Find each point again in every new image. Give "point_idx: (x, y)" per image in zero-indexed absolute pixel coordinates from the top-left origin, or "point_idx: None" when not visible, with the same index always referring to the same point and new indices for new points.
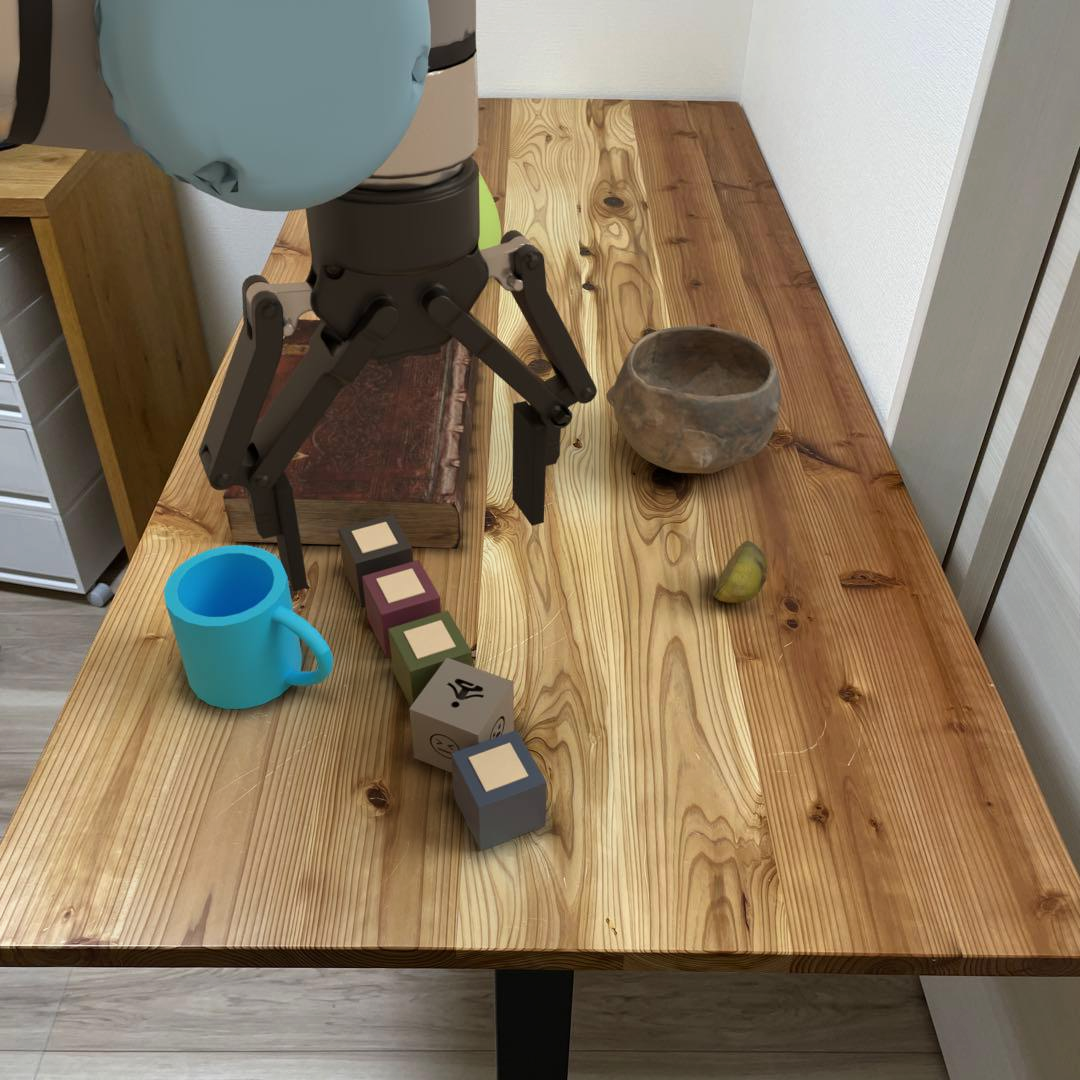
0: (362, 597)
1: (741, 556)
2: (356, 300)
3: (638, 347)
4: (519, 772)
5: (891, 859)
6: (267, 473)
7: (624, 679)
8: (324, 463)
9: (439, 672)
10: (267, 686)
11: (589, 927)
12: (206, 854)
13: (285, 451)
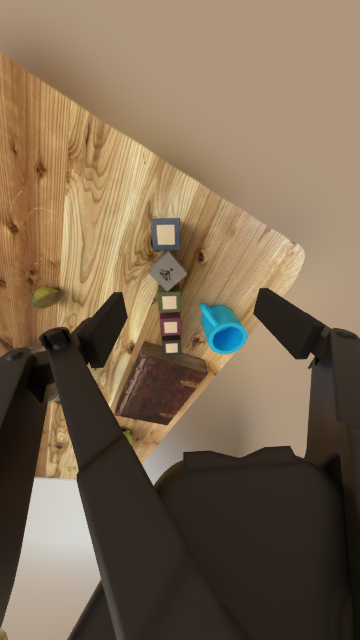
0: None
1: (38, 299)
2: None
3: (55, 398)
4: (159, 228)
5: (9, 125)
6: (346, 338)
7: (106, 272)
8: (176, 377)
9: (171, 286)
10: (217, 308)
11: (152, 163)
12: (253, 257)
13: (346, 352)
